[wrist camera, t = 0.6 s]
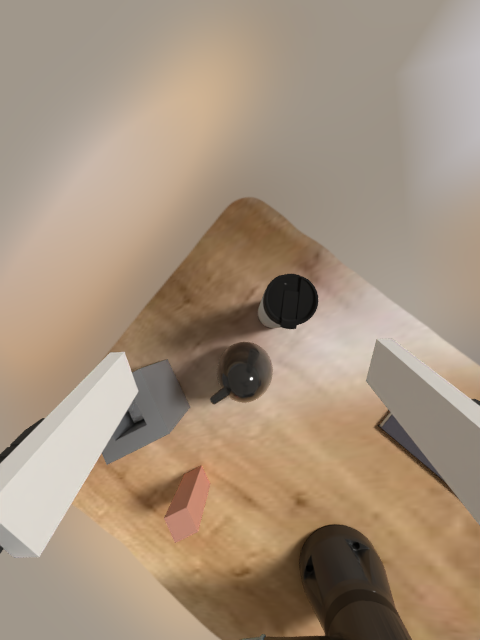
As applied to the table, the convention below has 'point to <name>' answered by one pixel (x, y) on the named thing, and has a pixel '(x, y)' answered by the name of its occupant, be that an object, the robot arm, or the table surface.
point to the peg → (188, 505)
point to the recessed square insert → (135, 411)
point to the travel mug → (288, 302)
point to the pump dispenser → (243, 373)
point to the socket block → (149, 411)
